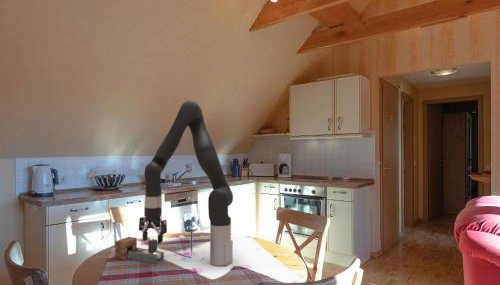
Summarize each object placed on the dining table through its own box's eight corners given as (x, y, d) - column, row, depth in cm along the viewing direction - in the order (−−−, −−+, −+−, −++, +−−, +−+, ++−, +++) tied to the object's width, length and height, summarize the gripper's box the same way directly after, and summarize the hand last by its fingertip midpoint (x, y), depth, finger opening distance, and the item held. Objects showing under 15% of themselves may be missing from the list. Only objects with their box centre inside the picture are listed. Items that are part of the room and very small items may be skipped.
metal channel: (163, 259, 148) (163, 252, 148) (155, 263, 143) (155, 255, 143) (136, 254, 155) (136, 247, 155) (127, 258, 150) (128, 250, 150)
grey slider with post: (161, 258, 147) (161, 240, 147) (157, 260, 144) (157, 242, 144) (139, 254, 152) (139, 237, 152) (135, 256, 150) (135, 238, 150)
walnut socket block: (136, 253, 157) (136, 237, 157) (123, 259, 149) (123, 242, 149) (128, 252, 159) (128, 236, 159) (115, 257, 151) (115, 241, 151)
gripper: (171, 206, 148) (170, 241, 148) (146, 203, 154) (146, 237, 154) (159, 208, 141) (159, 246, 141) (135, 205, 147) (134, 241, 147)
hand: (152, 241), depth 148 cm, fingers open, 8 cm apart
